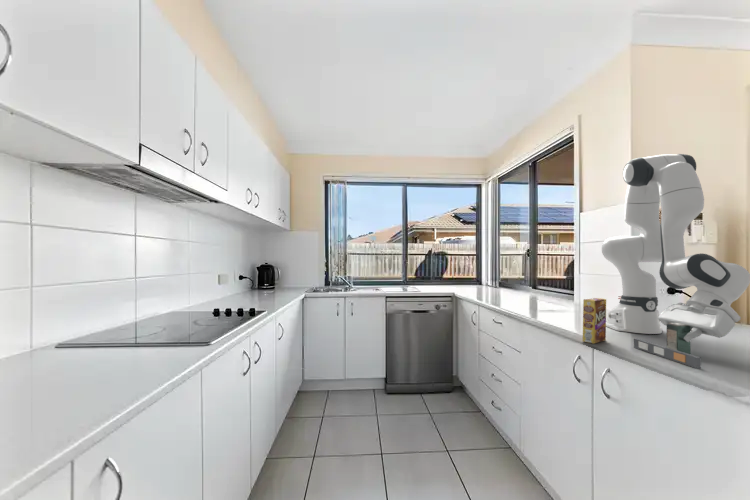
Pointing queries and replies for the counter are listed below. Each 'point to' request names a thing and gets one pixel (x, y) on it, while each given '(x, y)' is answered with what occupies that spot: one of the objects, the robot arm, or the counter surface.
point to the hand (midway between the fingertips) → (676, 338)
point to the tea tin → (678, 337)
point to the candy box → (594, 320)
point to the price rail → (668, 353)
